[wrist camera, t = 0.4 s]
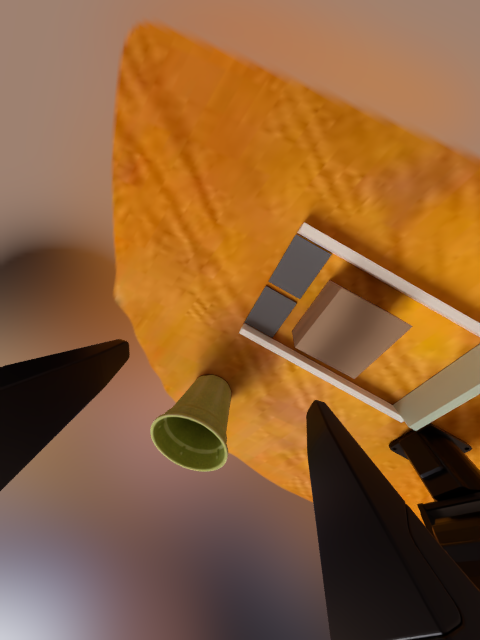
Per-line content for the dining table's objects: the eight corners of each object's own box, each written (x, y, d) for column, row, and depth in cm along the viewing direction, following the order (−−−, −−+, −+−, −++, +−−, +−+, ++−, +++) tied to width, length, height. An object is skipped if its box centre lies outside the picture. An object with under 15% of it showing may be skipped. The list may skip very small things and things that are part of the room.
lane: (501, 339, 17) (543, 356, 15) (394, 412, 23) (409, 434, 20) (301, 224, 17) (306, 220, 14) (241, 327, 22) (236, 339, 20)
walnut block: (385, 310, 19) (412, 326, 15) (341, 356, 22) (354, 379, 18) (328, 279, 18) (341, 287, 15) (291, 330, 21) (294, 347, 18)
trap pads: (330, 254, 17) (331, 254, 17) (272, 337, 22) (272, 337, 22) (295, 234, 17) (296, 234, 17) (244, 321, 22) (244, 322, 22)
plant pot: (177, 393, 29) (142, 446, 22) (196, 353, 25) (160, 402, 18) (226, 418, 30) (208, 481, 22) (252, 383, 26) (242, 444, 18)
